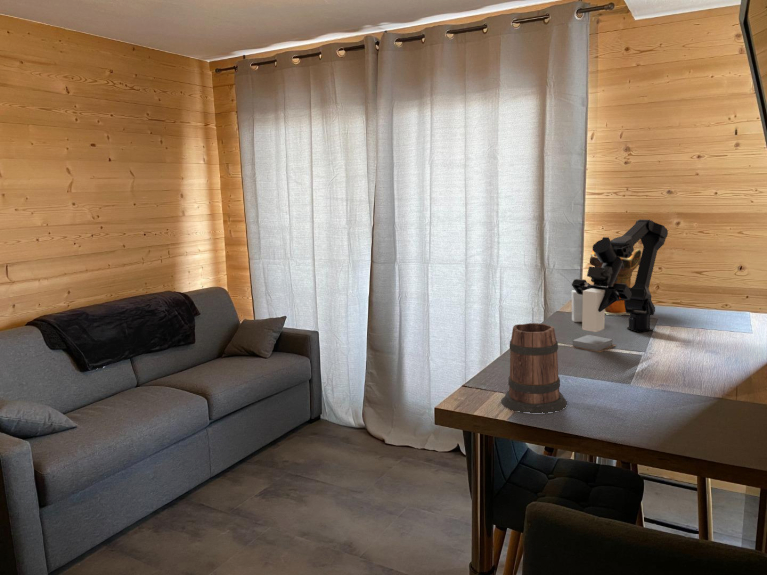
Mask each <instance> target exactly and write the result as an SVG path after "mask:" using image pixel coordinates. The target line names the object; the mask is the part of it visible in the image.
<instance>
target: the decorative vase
mask: <svg viewBox="0 0 767 575" xmlns="http://www.w3.org/2000/svg"><path fill="white" fill-rule="evenodd" d="M641 255H642V251H641V249H639V248H638V249H635V250H634V251H633V252H632V254H631V255H630V256H629V257H628V258H622V257H620V258H621V260H622V261H623V265H624V269H620V271H619V273H618V275H617V277H616V278H617V279H618V280H617V282H614V283H624V284H627V286H628V287H629V288H631V282H632V281H631V280H632V275H633V272H634V271H635V270H636V269H637V267H639V264H640V259H641ZM589 264H590V265H591V266H592V267H602V265H603V263H601V262H600V261H599V259H598V258H597V256H596V254H595V253H594V251H593V250H592V251H591V254H590V258H589ZM613 285H614V284H613ZM612 287H613V286H612ZM619 299H620V300H619V301H616V302H614V303H612V304H611V305H609V306H608V307H606V308H605V316H606V315H607V316H608V315H611V316H622V315H623V316H625V315H629V316H630V313H626V310H625V304H624V300H623V299H621V298H620V297H619Z"/></svg>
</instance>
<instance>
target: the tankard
mask: <svg viewBox="0 0 767 575" xmlns="http://www.w3.org/2000/svg"><path fill="white" fill-rule="evenodd" d="M510 338H511V339H510V341H509V350H510V352H509V353H510V354H509V355H510V356H509V357H510V358H509V375H508V384H507V385H508V386H509V387H508V388H509V390H507V391H506V392H505V394H504V396H503V397H502V398H501V401H500V403H501V405H502V406H503V407H504V408H505V407H506V409H507V408H508V409H507V410H509V409H510V410H509V411H512V410H513V411H512V412H515V411H520V412H530V413H542V412H543V413H548V412H555V411H559V412H561V411H560V410H562V409H563V408H565V407H566V405H567V402H568V400H567V399H566V398H565V396H564V395H563V394H562V393H561V391H560V388H561V387H560V386H561V378H560V377H559V363H558V362H559V361H558V360H559V359H558V350H559V342H558V341H557V337H556V331H555V327H554V326H552V325H550V324H549V325H548V324H546V323H538V322H531V323H523V324H520V323H519V324H515V325H513V326H512V332H511V337H510ZM566 400H567V401H566ZM566 408H567V407H566ZM566 408H565V409H566ZM562 411H563V410H562Z"/></svg>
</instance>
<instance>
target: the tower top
mask: <svg viewBox="0 0 767 575" xmlns="http://www.w3.org/2000/svg"><path fill="white" fill-rule="evenodd" d="M612 344H614V343H613V339H612V338H608V337H602V336H598V335H591V334H586V335H583V336H581V337H578V338H575V339H573V340H572V345H573V346H574V347H579V348H584V349H589V350H594V351H593V352H595V351H599V350H602V349H604V348H607V347H609V346H612ZM574 347H573V348H574ZM579 348H578V349H579ZM584 349H583V350H584ZM589 350H588V351H589Z"/></svg>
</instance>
